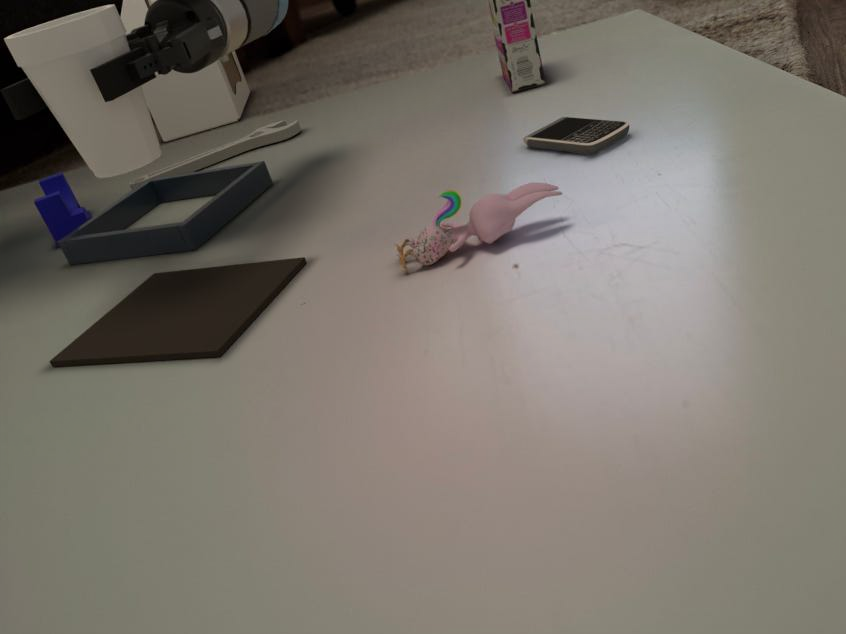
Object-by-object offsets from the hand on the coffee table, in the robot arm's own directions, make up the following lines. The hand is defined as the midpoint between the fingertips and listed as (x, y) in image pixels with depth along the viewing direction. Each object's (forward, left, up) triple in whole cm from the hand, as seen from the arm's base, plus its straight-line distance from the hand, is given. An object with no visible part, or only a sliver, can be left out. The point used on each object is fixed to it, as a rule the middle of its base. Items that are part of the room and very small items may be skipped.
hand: (55, 95), depth 71 cm
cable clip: (-30, +23, -20) cm, 42 cm away
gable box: (-39, +70, -20) cm, 82 cm away
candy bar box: (+23, +57, -20) cm, 65 cm away
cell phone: (+36, +28, -20) cm, 50 cm away
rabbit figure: (+32, +5, -20) cm, 39 cm away
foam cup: (0, +4, -8) cm, 9 cm away
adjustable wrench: (-20, +43, -20) cm, 51 cm away
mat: (+5, -3, -20) cm, 21 cm away
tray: (-12, +20, -20) cm, 30 cm away
